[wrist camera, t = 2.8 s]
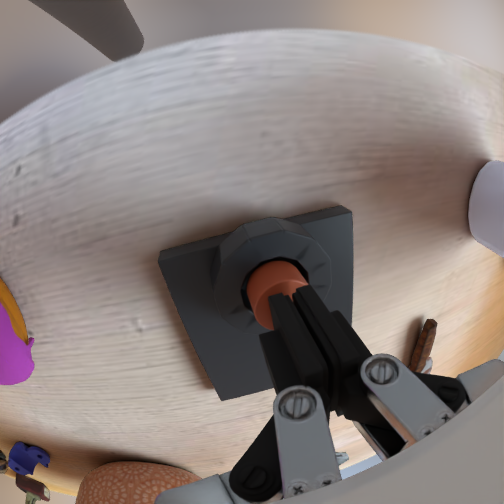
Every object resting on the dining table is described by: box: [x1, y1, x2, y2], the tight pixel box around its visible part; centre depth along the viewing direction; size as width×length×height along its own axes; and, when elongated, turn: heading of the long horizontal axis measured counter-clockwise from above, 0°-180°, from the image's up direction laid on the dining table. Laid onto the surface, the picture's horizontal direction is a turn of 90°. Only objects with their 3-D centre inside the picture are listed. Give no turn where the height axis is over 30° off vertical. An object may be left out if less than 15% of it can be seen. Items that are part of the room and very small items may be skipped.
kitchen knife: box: [409, 319, 437, 374], centre depth 25 cm, size 21×2×5 cm
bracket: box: [8, 442, 50, 475], centre depth 20 cm, size 9×5×3 cm, turn 110°
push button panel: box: [158, 206, 353, 401], centre depth 15 cm, size 13×10×3 cm
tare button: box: [247, 261, 308, 330], centre depth 12 cm, size 3×3×2 cm
